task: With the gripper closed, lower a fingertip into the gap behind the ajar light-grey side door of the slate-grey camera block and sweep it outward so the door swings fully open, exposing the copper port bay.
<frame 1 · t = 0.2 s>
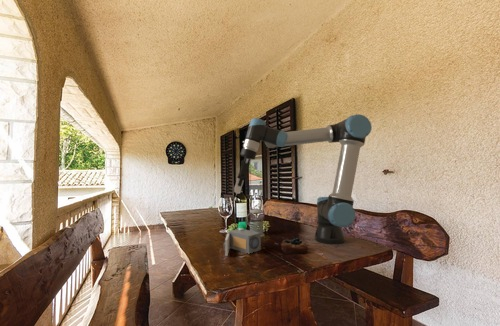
hand: (236, 191, 117), 28 cm above the table, tool tilted 20°, fingers open, 13 cm apart
french press: (255, 235, 144), on the table
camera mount: (246, 241, 132), on the table
side door: (226, 243, 112), point 4 cm above the table, hinge at 45.0°
pastry: (294, 251, 114), on the table
camera block: (244, 248, 117), on the table
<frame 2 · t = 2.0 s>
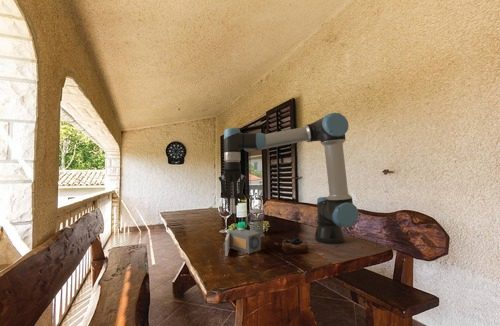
hand: (233, 212, 112), 18 cm above the table, tool pointing down, fingers closed
nothing on the table moved.
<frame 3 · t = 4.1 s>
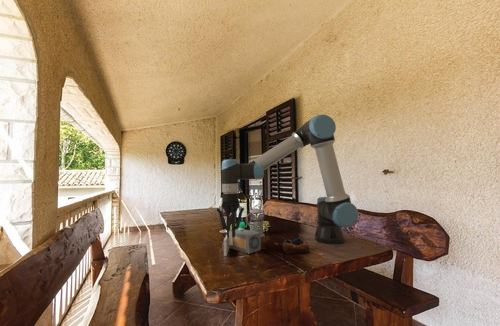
hand: (231, 244, 111), 4 cm above the table, tool pointing down, fingers closed
side door: (226, 243, 112), point 4 cm above the table, hinge at 47.7°, touching gripper
everything else where it was.
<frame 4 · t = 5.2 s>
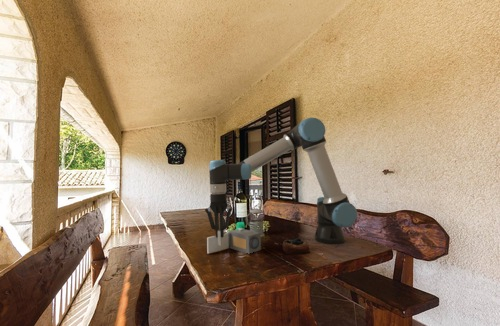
hand: (220, 244, 112), 4 cm above the table, tool pointing down, fingers closed
side door: (218, 242, 114), point 4 cm above the table, hinge at 92.2°, touching gripper
everything else where it was.
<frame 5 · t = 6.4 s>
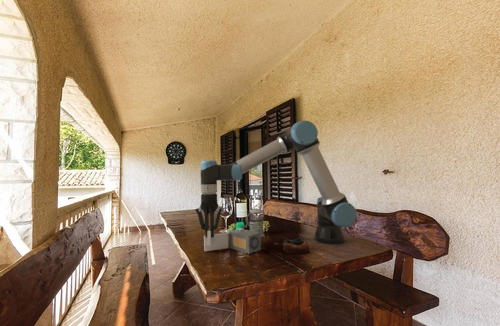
hand: (209, 244, 112), 4 cm above the table, tool pointing down, fingers closed
side door: (217, 241, 116), point 4 cm above the table, hinge at 111.3°, touching gripper
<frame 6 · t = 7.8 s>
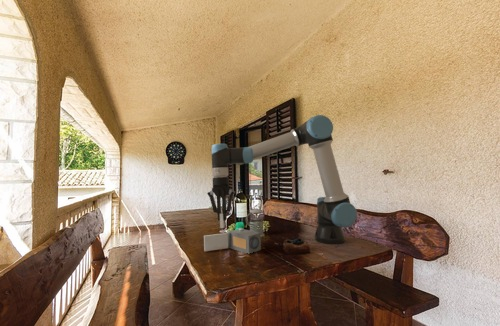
hand: (222, 227, 113), 11 cm above the table, tool pointing down, fingers closed
side door: (217, 241, 116), point 4 cm above the table, hinge at 111.5°
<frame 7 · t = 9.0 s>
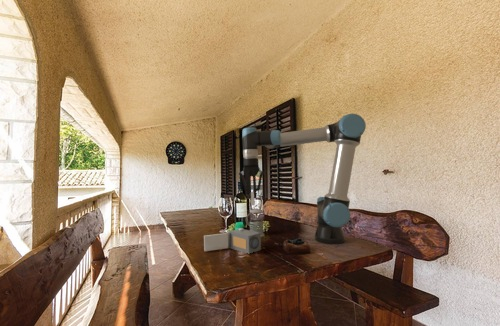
hand: (253, 204, 122), 21 cm above the table, tool pointing down, fingers closed
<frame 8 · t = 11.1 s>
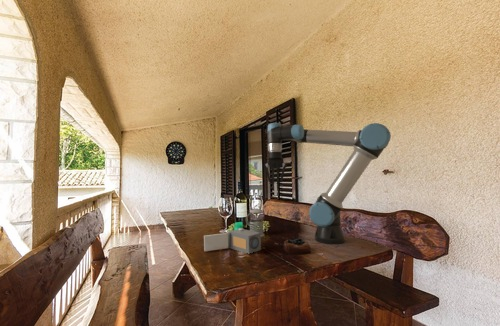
hand: (275, 195, 131), 24 cm above the table, tool pointing down, fingers closed
at the end: side door at +112° (first picture: +45°); side door touching nothing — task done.
